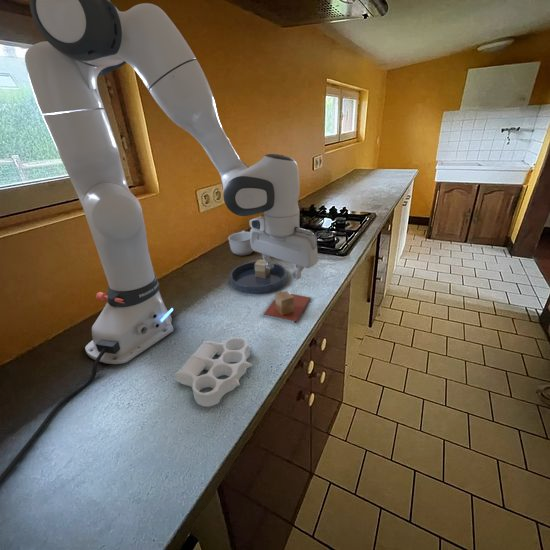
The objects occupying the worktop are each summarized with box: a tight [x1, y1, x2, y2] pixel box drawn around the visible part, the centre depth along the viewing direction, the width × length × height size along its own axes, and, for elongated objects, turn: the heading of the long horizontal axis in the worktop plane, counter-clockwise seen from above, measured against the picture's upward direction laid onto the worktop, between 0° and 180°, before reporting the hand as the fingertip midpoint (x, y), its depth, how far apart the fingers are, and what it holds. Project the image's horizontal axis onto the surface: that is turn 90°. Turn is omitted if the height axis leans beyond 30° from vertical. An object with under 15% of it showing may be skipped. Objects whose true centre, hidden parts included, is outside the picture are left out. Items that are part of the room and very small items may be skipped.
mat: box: [263, 291, 311, 324], centre depth 90 cm, size 13×10×1 cm
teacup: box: [227, 230, 254, 257], centre depth 127 cm, size 14×11×8 cm
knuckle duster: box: [173, 337, 253, 408], centre depth 67 cm, size 3×18×15 cm
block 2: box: [274, 290, 294, 315], centre depth 87 cm, size 4×4×5 cm
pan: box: [229, 260, 288, 295], centre depth 105 cm, size 19×19×3 cm
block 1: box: [254, 259, 270, 278], centre depth 107 cm, size 4×4×5 cm
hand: (282, 273), depth 82 cm, fingers open, 8 cm apart
